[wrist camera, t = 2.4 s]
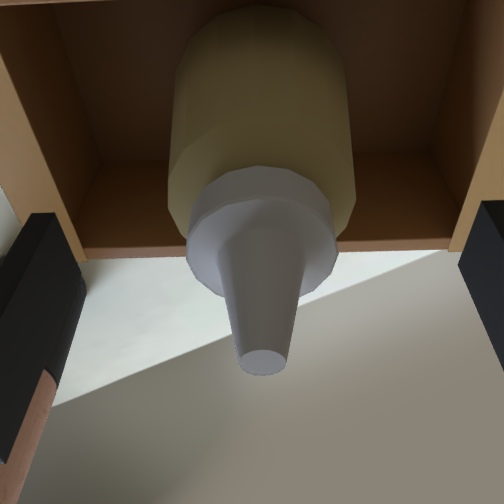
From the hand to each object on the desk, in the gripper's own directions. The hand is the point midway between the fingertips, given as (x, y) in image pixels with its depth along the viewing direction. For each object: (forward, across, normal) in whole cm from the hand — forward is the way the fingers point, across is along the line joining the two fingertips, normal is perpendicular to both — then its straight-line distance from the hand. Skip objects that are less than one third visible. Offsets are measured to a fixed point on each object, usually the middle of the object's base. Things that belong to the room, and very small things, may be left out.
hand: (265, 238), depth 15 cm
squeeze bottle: (+14, 0, 0) cm, 14 cm away
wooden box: (+14, 0, 0) cm, 14 cm away
